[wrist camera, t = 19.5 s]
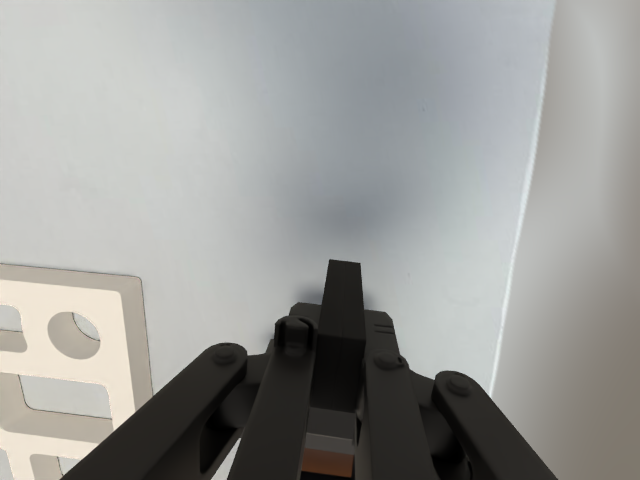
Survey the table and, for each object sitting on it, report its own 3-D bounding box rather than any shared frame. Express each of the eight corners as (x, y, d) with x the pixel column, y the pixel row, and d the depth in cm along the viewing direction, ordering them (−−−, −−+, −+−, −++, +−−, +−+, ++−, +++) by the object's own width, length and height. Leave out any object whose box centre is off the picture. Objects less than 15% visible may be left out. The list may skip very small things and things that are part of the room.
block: (301, 377, 29) (293, 421, 24) (356, 384, 28) (357, 429, 24) (299, 421, 30) (290, 469, 26) (351, 427, 30) (351, 477, 25)
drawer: (273, 290, 28) (239, 360, 19) (405, 307, 27) (429, 386, 19) (263, 460, 33) (233, 572, 25) (372, 477, 33) (380, 597, 24)
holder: (174, 612, 43) (163, 642, 41) (37, 590, 44) (18, 618, 42) (140, 277, 29) (120, 291, 27) (-57, 258, 31) (-94, 270, 28)
